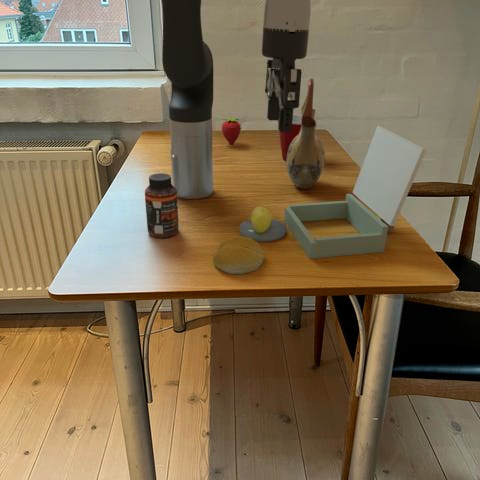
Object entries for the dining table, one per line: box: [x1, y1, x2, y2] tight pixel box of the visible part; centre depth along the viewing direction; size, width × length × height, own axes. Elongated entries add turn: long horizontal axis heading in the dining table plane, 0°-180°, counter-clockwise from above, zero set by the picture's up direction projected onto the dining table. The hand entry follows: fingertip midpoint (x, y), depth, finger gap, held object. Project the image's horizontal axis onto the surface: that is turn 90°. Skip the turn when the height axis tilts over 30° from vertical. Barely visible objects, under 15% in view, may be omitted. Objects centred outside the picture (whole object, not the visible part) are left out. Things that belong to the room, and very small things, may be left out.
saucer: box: [239, 218, 287, 243], centre depth 89 cm, size 9×9×1 cm
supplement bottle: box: [144, 172, 180, 239], centre depth 86 cm, size 6×6×11 cm
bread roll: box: [212, 235, 264, 275], centre depth 78 cm, size 8×9×4 cm
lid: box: [351, 125, 427, 227], centre depth 84 cm, size 14×16×1 cm
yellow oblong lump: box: [250, 206, 273, 233], centre depth 88 cm, size 4×8×4 cm, turn 173°
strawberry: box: [221, 112, 242, 146], centre depth 141 cm, size 6×8×10 cm
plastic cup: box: [277, 113, 317, 162], centre depth 129 cm, size 11×11×12 cm
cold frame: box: [283, 193, 388, 260], centre depth 87 cm, size 14×16×5 cm
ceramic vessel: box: [285, 78, 326, 190], centre depth 107 cm, size 16×9×25 cm, turn 173°
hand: (278, 125), depth 82 cm, fingers open, 8 cm apart
